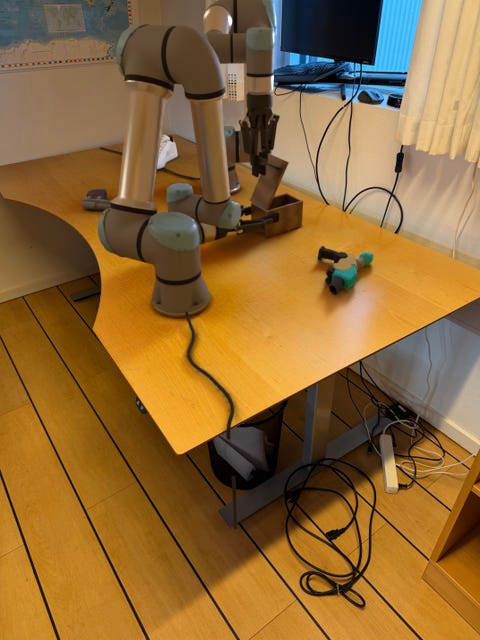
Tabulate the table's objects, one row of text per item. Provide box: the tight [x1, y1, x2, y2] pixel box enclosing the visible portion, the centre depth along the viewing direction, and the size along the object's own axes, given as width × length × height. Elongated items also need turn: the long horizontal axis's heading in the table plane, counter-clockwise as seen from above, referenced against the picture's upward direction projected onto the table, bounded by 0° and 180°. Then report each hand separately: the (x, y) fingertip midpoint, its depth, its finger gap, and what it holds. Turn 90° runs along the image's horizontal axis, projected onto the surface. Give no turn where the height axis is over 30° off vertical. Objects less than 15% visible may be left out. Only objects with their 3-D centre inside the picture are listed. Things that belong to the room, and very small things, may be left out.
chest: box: [250, 192, 304, 239], centre depth 159 cm, size 15×9×9 cm, turn 123°
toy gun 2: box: [317, 245, 375, 296], centre depth 134 cm, size 4×26×15 cm
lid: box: [249, 154, 290, 210], centre depth 148 cm, size 16×9×9 cm
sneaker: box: [157, 133, 179, 170], centre depth 214 cm, size 10×29×12 cm, turn 163°
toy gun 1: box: [80, 188, 112, 211], centre depth 178 cm, size 4×19×15 cm
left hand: (269, 212), depth 157 cm, fingers closed on chest, 9 cm apart
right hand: (258, 174), depth 147 cm, fingers closed on lid, 2 cm apart
